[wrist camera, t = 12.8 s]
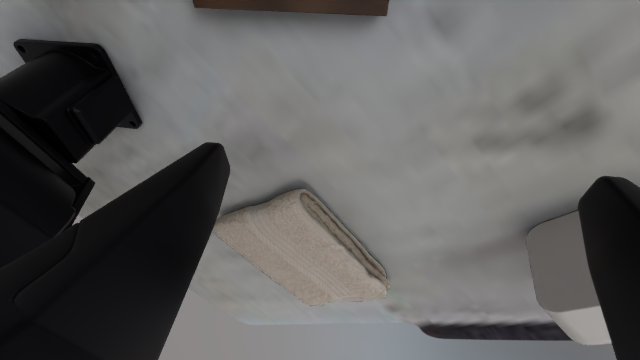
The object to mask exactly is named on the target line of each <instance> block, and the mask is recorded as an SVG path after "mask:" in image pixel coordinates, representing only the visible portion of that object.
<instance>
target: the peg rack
mask: <svg viewBox="0 0 640 360" xmlns="http://www.w3.org/2000/svg"><path fill="white" fill-rule="evenodd" d="M193 3H194V6H195V8H211V9H234V10H257V11H279V12H302V13H325V14H348V15H371V16H387V11H388V3H389V0H193Z"/></svg>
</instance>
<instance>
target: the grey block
mask: <svg viewBox="0 0 640 360" xmlns="http://www.w3.org/2000/svg"><path fill="white" fill-rule="evenodd" d="M526 245H527V250H528V256H529V262H530V267H531V273H532V278H533V284H534V289H535V294H536V299H537V301H538V303H539V305H540V306H541V307H542V308H543V309H544V310H545V311H546V313H547V314H548V315H549V316H550V317H551V318H552V319H553V320H554V321H555V322H556V323H557V324H558V325H559V327H560V328H561V329H562V330H563V331H564V332H565V333H566V334H567V335H568V336H569V337H570V338H571V339H572V340H574V341H576V342H578V343H580V344H584V345H600V344H610V343H612V342H611V339H610V336H609V333H608V329H607V326H606V323H605V320H604V317H603V313H602V310H601V307H600V304H599V301H598V297H597V294H596V291H595V288H594V284H593V281H592V278H591V274H590V271H589V267H588V262H587V257H586V252H585V246H584V240H583V235H582V229H581V223H580V218H579V212H578V211H575V212H572V213H570V214H567V215H564V216H561V217H558V218H555V219H552V220H550V221H547V222H544V223H541V224H539V225H537V226H535V227H534V228H533V229H531V230H530V232H529V233H528V235H527V237H526Z"/></svg>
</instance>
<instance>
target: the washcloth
mask: <svg viewBox="0 0 640 360" xmlns="http://www.w3.org/2000/svg"><path fill="white" fill-rule="evenodd" d="M214 231H215V232H216V234H217V235H218V236H219V238H221V239H222V240H223V241H225V242H226V243H227V244H228V245H229V246H230V247H232V248H233V249H234V250H236V251H237V252H239V253H240V254H242V256H244V257H245V258H247V259H248V260H249V262H251V263H252V264H253V265H254V266H256V267H258V269H260V270H261V271H262V272H264V273H266V274H267V275H268V276H269V277H270V278H271V279H273V280H274V281H275V282H277V283H278V284H279V285H282V286H283V287H284V288H285V289H287V290H288V291H289V292H290V293H292V294H293V295H294V296H296V297H297V298H298V299H299V300H301V301H302V302H303V303H304V304H307V305H310V306H322V305H324V304H325V303H329V302H337V301H351V302H362V301H365V300H372V299H382V298H386V297H387V294H386V290H389V289H390V288H391V284H390V283H389V281H388V280H387V279H386V278H385V277H386V273H385V270H384V269H383V267H382V266H381V265H380V264H379V263H378V262H377V261H376V260H375V259H374V258H373V257H372V256H370V255H369V253H368V252H367V251H366V250H365V248H364V247H363V246H362V245H361V243H360V242H359V241H358V240H357V239H356V238H355V237H354V236H353V235H352V233H350V232H349V231H348V230H347V229H346V228H345V227H344V226H343V225H342V224H341V223H340V221H339V220H338V219H337V218H336V217H335V216H334V215H333V214H332V213H331V211H330V210H329V209H328V208H327V207H326V206H325V205H324V204H323V203H322V202H321V201H320V200H319V199H318V198H317V197H316V196H315V195H314V194H312V193H311V192H310V191H308V190H306V189H297V190H293V191H290V192H287V193H284V194H282V195H279V196H276V197H275V198H273V199H272V200H271V201H269V202H265V203H262V204H259V205H256V206H248V207H246V208H243V209H240V210H237V211H234V212H232V213H229V214H226V215H224V216H222V217H220V218H218V219H217V220H216V222H215V225H214Z"/></svg>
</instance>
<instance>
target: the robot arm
mask: <svg viewBox="0 0 640 360" xmlns="http://www.w3.org/2000/svg"><path fill="white" fill-rule="evenodd" d="M14 47H15V49H16V50H17V52H18V53H19V54H20V56H21V57H22V58H23V60H24V61H25V64H24V65H22V66H20V67H19V68H17V69H15V70H14V71H12V72H10V73H8V74H7V75H5V76H3V77H2V78H0V360H158V359H159V356H160V354H161V351H162V349H163V347H164V344H165V342H166V340H167V337H168V335H169V332H170V330H171V328H172V325H173V323H174V321H175V318H176V316H177V313H178V311H179V309H180V306H181V304H182V301H183V299H184V297H185V294H186V292H187V290H188V287H189V285H190V282H191V280H192V278H193V275H194V273H195V270H196V268H197V266H198V263H199V261H200V259H201V256H202V254H203V251H204V249H205V247H206V244H207V242H208V240H209V237H210V235H211V232H212V230H213V227H214V225H215V222H216V219H217V216H218V213H219V210H220V206H221V203H222V199H223V196H224V192H225V189H226V185H227V182H228V178H229V175H230V165H229V162H228V159H227V156H226V153H225V150H224V147H223V146H222V144H220V143H212V142H206V143H204V144H202V145H201V146H199V147H197V148H196V149H194V150H193V151H191V152H189V153H188V154H186V155H185V156H183V157H181V158H180V159H178V160H177V161H175V162H174V163H172V164H170V165H169V166H167V167H166V168H164V169H162V170H161V171H159V172H158V173H156V174H154V175H153V176H151V177H150V178H148V179H146V180H145V181H143V182H142V183H140V184H138V185H137V186H135V187H134V188H132V189H130V190H129V191H127V192H126V193H124V194H122V195H121V196H119V197H118V198H116V199H114V200H113V201H111V202H110V203H108V204H106V205H105V206H103V207H102V208H100V209H98V210H97V211H95V212H94V213H92V214H90V215H89V216H87V217H86V218H84V219H83V220H81V221H80V223H76V224H74V225H73V226H72V224H73V222H74V220H75V219H76V217H77V215H78V214H79V212H80V210H81V208H82V206H83V205H84V203H85V201H86V199H87V197H88V196H89V194H90V192H91V190H92V188H93V187H94V185H95V182H94V181H93V180H92V179H91V178H89V177H86V176H85V175H84V174H83V173H82V172H81V171H80V170H78V169H77V168H76V167H75V166H74V165H73V164H72V163H77V162H78V161H80V160H81V159H82V158H83V157H84V156H85V155H86V154H87V153H88V152H89V151H90V150H91V149H92V148H93V147H94V146H95V145H96V144H100V143H101V142H102V141H103V140H104V139H105V138H106V137H107V136H108V135H109V134H110V133H111V132H112V131H113V130H114V129H115V128H116V127H123V128H133V129H138V128H139V127H140V126H141V125H142V121H141V119H140V117H139V115H138V113H137V112H136V110H135V108H134V106H133V104H132V102H131V100H130V98H129V96H128V94H127V92H126V90H125V88H124V86H123V84H122V82H121V80H120V79H119V77H118V75H117V73H116V71H115V69H114V67H113V65H112V63H111V61H110V59H109V57H108V55H107V53H106V51H105V50H104V49H103V48H102V47H101V46H100V45H98V44H92V43H76V42H60V41H44V40H28V39H19V40H17V41H15V42H14ZM96 52H97V53H96ZM578 212H579V218H580V223H581V229H582V235H583V240H584V246H585V252H586V257H587V262H588V267H589V271H590V274H591V278H592V281H593V284H594V288H595V291H596V294H597V297H598V301H599V304H600V307H601V310H602V313H603V317H604V320H605V323H606V326H607V329H608V333H609V336H610V339H611V342H612V345H613V349H614V352H615V355H616V358H617V360H640V188H639V187H638V186H636V185H635V184H633V183H632V182H630V181H629V180H627V179H625V178H621V177H610V176H602V177H600V178H598V179H597V180H596V181H595V182H594V183H593V185H592V186H591V187H590V188H589V189H588V190H587V192H586V193H585V194H584V195H583V196H582V198H581V199H580V201H579V204H578Z"/></svg>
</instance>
